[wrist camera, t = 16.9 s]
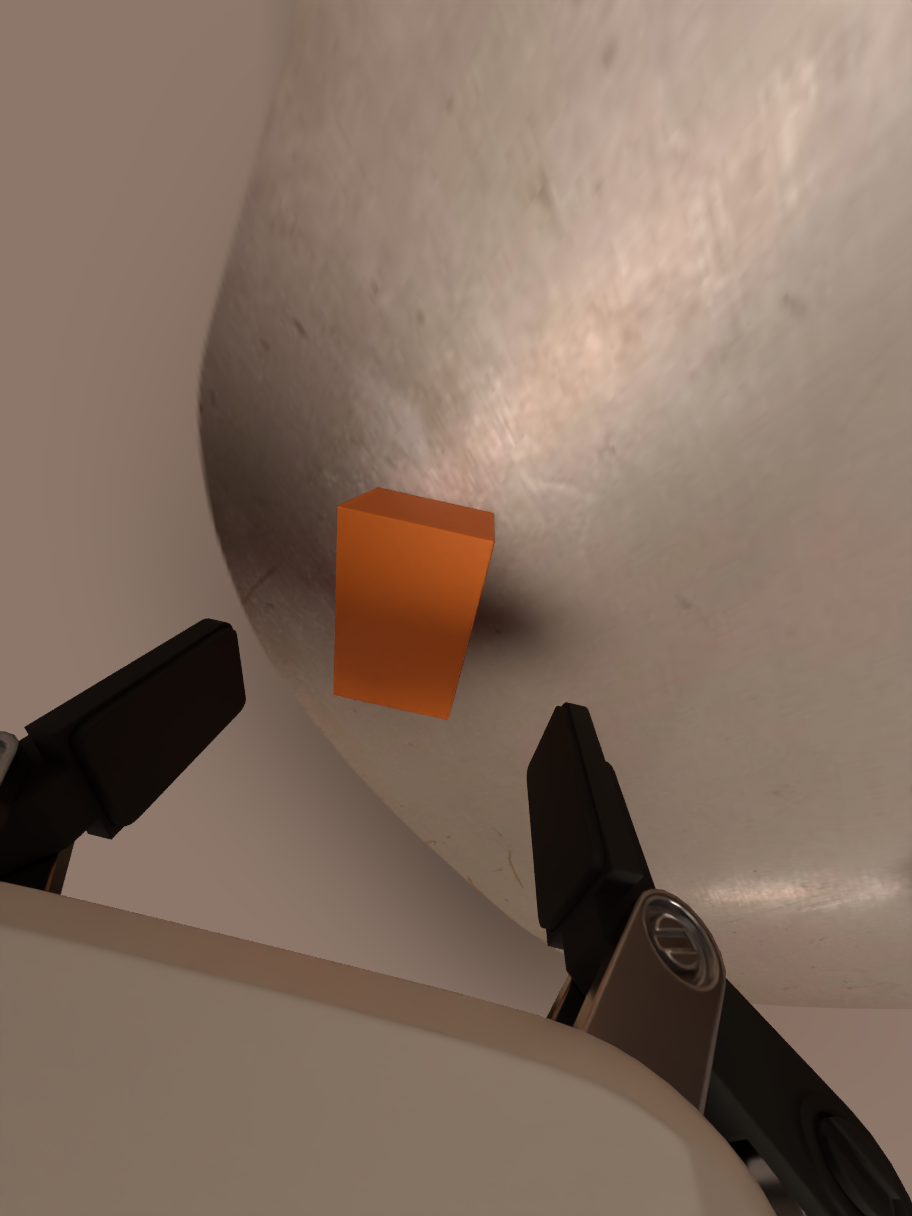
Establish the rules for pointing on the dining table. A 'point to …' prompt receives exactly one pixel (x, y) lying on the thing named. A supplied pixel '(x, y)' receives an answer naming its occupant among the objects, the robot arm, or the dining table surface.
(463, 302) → the dining table surface
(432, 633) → the block
